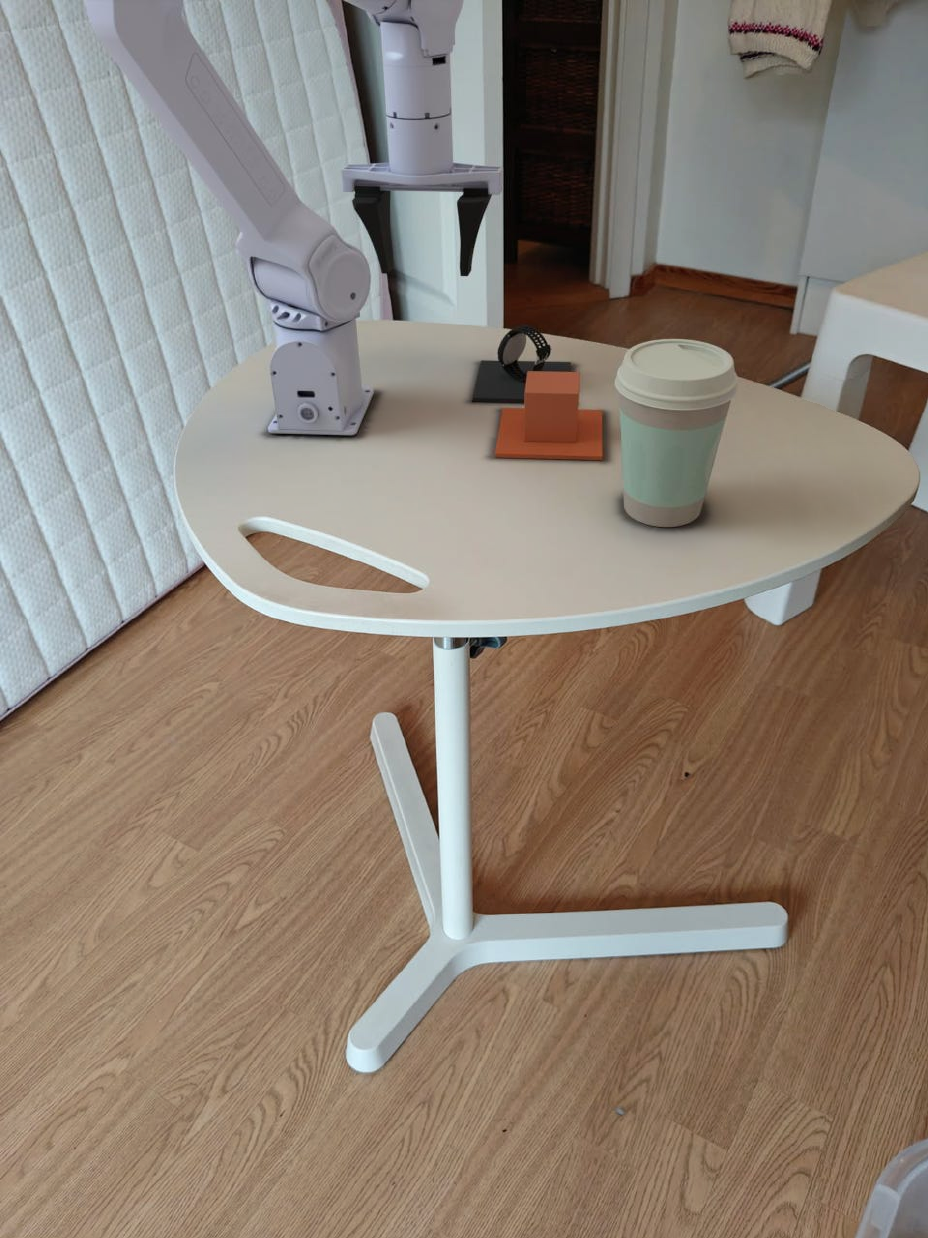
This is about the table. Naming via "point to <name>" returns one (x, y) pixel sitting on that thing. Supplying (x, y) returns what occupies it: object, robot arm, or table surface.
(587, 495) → the table surface
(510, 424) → the terracotta mat
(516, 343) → the smartwatch
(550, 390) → the terracotta block
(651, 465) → the coffee cup
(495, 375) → the dark mat
